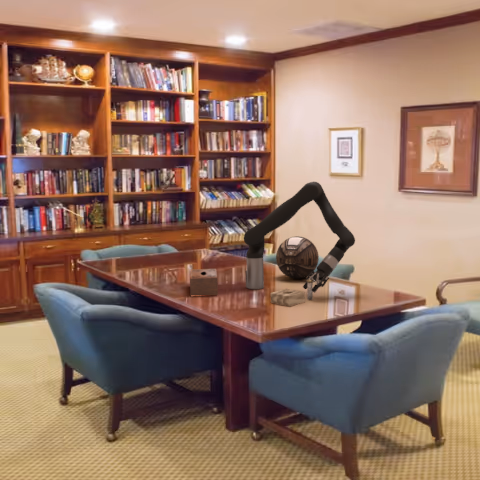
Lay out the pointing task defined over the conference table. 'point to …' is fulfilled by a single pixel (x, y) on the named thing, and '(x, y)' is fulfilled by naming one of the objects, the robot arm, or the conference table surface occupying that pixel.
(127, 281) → the conference table surface
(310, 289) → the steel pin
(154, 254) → the conference table surface
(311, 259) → the sphere
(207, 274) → the tissue box cover
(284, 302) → the maple hitch block
